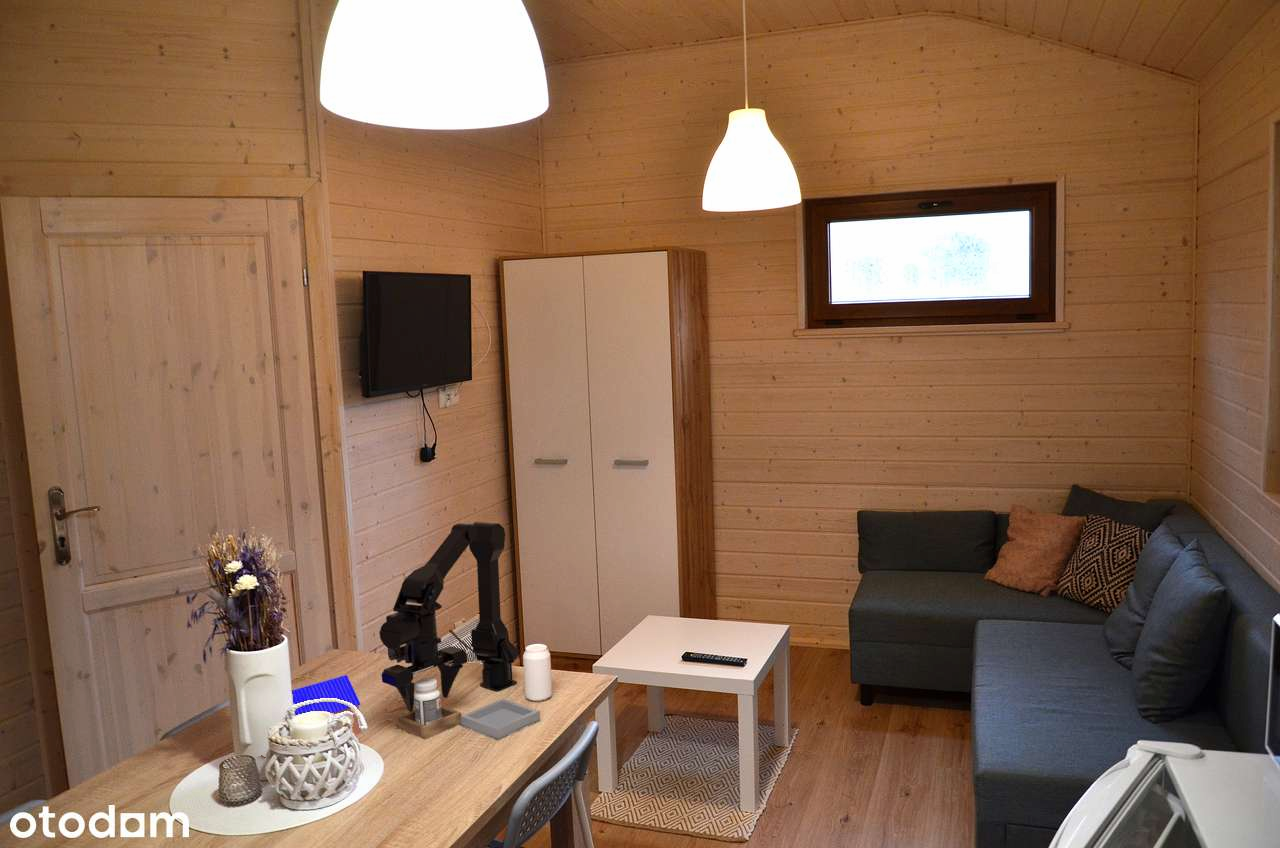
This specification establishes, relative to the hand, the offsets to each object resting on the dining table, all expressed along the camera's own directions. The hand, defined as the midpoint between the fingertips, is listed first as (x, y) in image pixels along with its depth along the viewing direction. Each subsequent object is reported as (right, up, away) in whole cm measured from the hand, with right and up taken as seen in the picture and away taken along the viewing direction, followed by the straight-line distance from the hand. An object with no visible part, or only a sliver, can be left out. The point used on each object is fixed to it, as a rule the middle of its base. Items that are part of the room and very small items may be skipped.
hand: (427, 704), depth 214 cm
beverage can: (+23, -3, +14) cm, 27 cm away
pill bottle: (0, -5, 0) cm, 5 cm away
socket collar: (0, -5, 0) cm, 5 cm away
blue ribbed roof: (-25, -7, -4) cm, 26 cm away
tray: (+16, -4, 0) cm, 16 cm away
